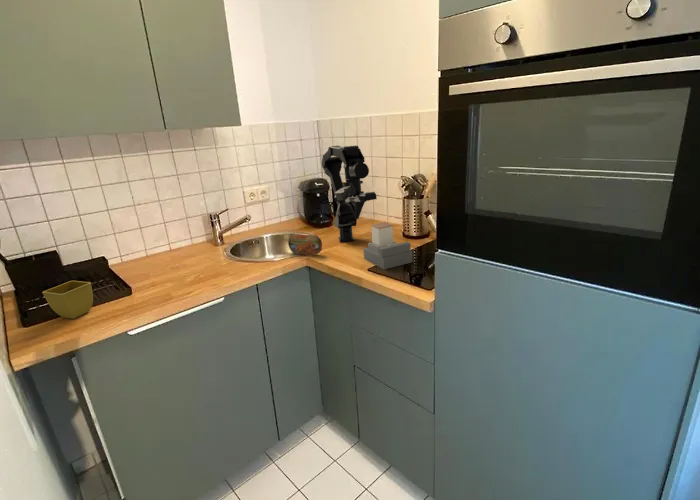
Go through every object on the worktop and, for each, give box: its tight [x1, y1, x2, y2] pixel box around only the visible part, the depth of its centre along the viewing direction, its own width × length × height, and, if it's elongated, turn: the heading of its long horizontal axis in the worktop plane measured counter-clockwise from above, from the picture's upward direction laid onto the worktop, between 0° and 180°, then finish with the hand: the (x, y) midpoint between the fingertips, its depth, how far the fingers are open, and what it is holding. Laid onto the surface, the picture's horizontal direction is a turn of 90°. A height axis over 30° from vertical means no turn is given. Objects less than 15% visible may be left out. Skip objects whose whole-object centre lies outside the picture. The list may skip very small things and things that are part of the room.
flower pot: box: [42, 280, 94, 319], centre depth 110 cm, size 9×9×9 cm
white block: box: [370, 221, 394, 248], centre depth 138 cm, size 5×6×9 cm
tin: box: [287, 232, 323, 256], centre depth 151 cm, size 15×3×8 cm, turn 62°
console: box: [363, 240, 413, 270], centre depth 137 cm, size 14×12×7 cm
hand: (357, 218), depth 150 cm, fingers closed
